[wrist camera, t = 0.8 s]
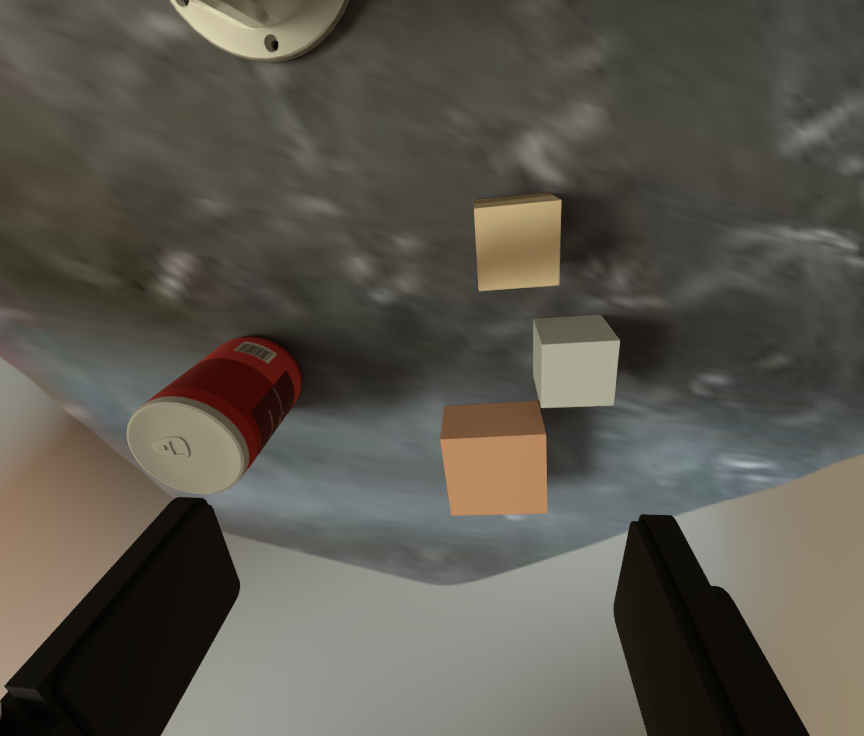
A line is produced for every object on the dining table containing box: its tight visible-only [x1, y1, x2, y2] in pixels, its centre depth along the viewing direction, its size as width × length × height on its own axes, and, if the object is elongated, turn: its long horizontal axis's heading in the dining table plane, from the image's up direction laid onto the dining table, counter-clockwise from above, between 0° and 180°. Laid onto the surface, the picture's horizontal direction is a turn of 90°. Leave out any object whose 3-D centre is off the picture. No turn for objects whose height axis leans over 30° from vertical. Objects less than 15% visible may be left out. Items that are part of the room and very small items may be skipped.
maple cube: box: [474, 193, 561, 291], centre depth 28 cm, size 5×5×5 cm
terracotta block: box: [440, 401, 547, 516], centre depth 37 cm, size 8×8×5 cm
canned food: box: [127, 337, 302, 494], centre depth 33 cm, size 8×8×11 cm
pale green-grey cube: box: [533, 315, 620, 408], centre depth 32 cm, size 5×5×5 cm
